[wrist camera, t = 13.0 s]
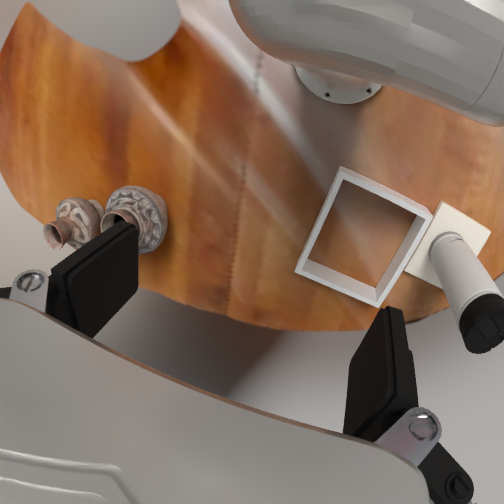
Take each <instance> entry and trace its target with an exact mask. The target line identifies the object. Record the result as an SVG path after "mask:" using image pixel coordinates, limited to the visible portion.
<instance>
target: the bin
mask: <svg viewBox="0 0 504 504" xmlns="http://www.w3.org/2000/svg"><path fill="white" fill-rule="evenodd" d="M343 179H344V180H347V181H349V182H351V183H353V184H355V185H358V186H360V187H362V188H364V189H366V190H368V191H370V192H372V193H375V194H377V195H379V196H381V197H383V198H385V199H387V200H389V201H391V202H393V203H395V204H397V205H399V206H401V207H403V208H405V209H407V210H409V211H411V212H413V213H415V214H417V216H416V218H415V220H414V222H413V223H412V225H411V227H410V229H409V231H408V233H407V234H406V236H405V238H404V240H403V242H402V243H401V245H400V247H399V249H398V251H397V252H396V254H395V256H394V258H393V259H392V261H391V263H390V264H389V266H388V268H387V269H386V271H385V273H384V274H383V276H382V278H381V279H380V281H379V283H378V284H377V286H376V287H375V288H374V287H372V286H369V285H367V284H365V283H362V282H360V281H358V280H356V279H353V278H351V277H349V276H346V275H344V274H342V273H340V272H337V271H335V270H333V269H330V268H328V267H326V266H324V265H321V264H319V263H317V262H314V261H312V260H310V259H307V258H308V255H309V253H310V251H311V249H312V247H313V245H314V243H315V241H316V238H317V236H318V234H319V232H320V230H321V228H322V225H323V223H324V221H325V219H326V217H327V215H328V212H329V210H330V208H331V206H332V203H333V201H334V199H335V197H336V194H337V192H338V190H339V188H340V185H341V183H342V181H343ZM432 218H433V216H432V214H431V213H430V212H429V210H428V209H427V208H426V207H425V206H423V205H421V204H419V203H417V202H415V201H413V200H411V199H409V198H408V197H406V196H404V195H402V194H400V193H398V192H396V191H394V190H392V189H390V188H388V187H386V186H384V185H382V184H380V183H377V182H375V181H373V180H371V179H369V178H367V177H365V176H363V175H360V174H358V173H356V172H354V171H352V170H350V169H347V168H345V167H343V166H341V165H340V167H339V169H338V171H337V174H336V176H335V178H334V181H333V183H332V185H331V188H330V190H329V192H328V195H327V197H326V199H325V201H324V204H323V206H322V208H321V211H320V213H319V215H318V217H317V220H316V222H315V224H314V226H313V228H312V231H311V233H310V235H309V237H308V239H307V242H306V244H305V246H304V248H303V250H302V253H301V255H300V257H299V259H298V262H297V265H296V269H295V273H298V274H300V275H302V276H305V277H307V278H309V279H312V280H314V281H316V282H319V283H321V284H323V285H326V286H328V287H330V288H333V289H335V290H337V291H340V292H342V293H344V294H347V295H349V296H351V297H354V298H356V299H358V300H361V301H363V302H365V303H368V304H370V305H372V306H375V307H377V308H379V307H380V305H381V304H382V302H383V301H384V299H385V298H386V296H387V295H388V293H389V291H390V290H391V288H392V287H393V285H394V284H395V282H396V280H397V279H398V277H399V276H400V274H401V272H402V271H403V269H404V267H405V266H406V264H407V263H408V261H409V259H410V257H411V256H412V254H413V252H414V251H415V249H416V247H417V245H418V244H419V242H420V240H421V238H422V237H423V235H424V233H425V231H426V229H427V228H428V226H429V224H430V222H431V220H432Z"/></svg>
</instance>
